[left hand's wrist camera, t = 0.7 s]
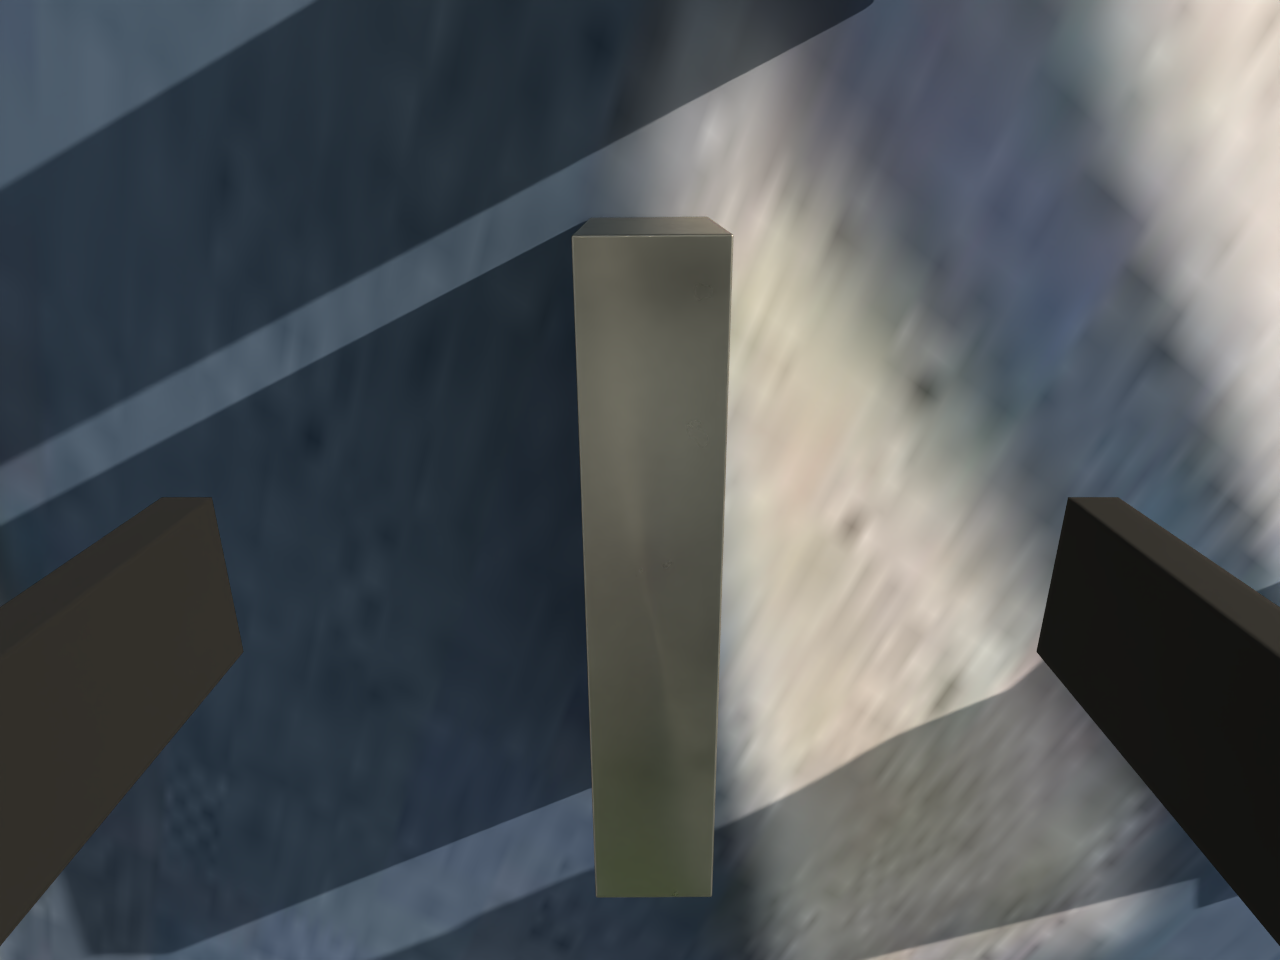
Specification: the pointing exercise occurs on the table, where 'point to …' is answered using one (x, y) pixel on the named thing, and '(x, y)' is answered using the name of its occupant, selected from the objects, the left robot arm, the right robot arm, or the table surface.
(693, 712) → the bar
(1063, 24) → the table surface
